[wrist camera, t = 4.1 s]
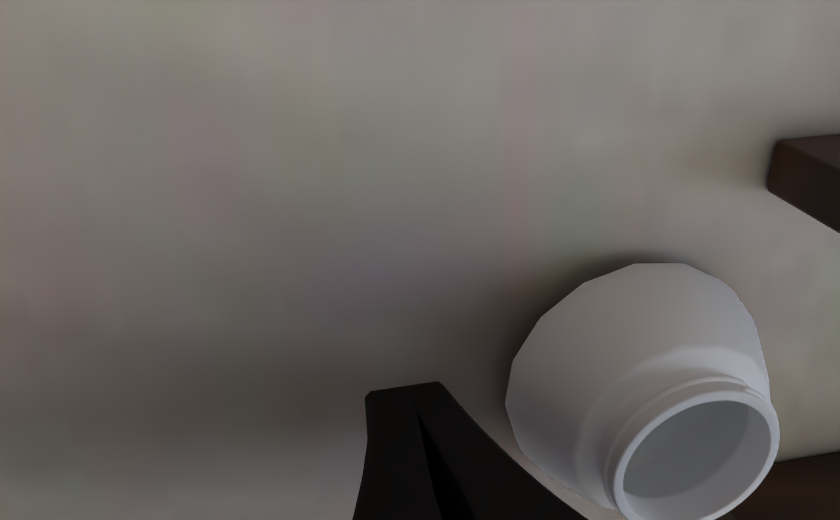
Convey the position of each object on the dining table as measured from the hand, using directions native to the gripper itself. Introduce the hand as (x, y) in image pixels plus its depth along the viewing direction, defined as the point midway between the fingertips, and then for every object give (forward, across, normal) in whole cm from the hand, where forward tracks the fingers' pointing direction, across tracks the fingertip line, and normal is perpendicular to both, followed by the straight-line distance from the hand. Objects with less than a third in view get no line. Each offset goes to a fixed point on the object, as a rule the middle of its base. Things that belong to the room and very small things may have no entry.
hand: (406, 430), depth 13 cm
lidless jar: (+1, -5, 0) cm, 5 cm away
